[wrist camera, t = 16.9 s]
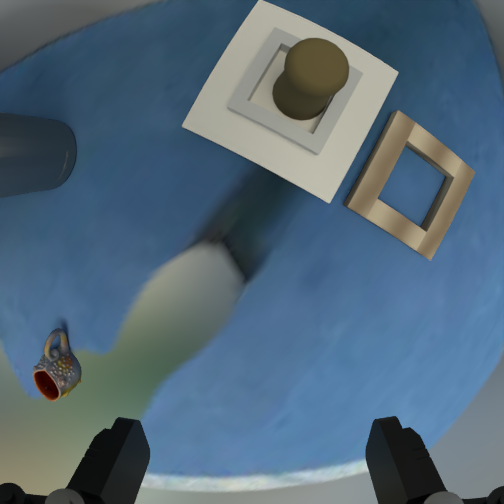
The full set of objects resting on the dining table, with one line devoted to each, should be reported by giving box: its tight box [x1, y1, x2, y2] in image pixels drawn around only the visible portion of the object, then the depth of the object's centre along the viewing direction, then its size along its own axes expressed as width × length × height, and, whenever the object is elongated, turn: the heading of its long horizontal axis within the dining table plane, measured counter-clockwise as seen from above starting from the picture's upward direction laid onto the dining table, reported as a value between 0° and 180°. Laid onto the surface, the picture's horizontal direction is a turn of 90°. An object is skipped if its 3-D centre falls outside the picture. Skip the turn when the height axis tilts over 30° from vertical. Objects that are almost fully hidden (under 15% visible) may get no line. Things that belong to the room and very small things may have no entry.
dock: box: [182, 0, 399, 204], centre depth 31 cm, size 18×18×3 cm
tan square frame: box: [343, 110, 475, 260], centre depth 33 cm, size 13×13×2 cm
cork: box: [272, 38, 350, 121], centre depth 26 cm, size 6×6×11 cm
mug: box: [33, 328, 81, 401], centre depth 39 cm, size 12×7×7 cm, turn 159°
